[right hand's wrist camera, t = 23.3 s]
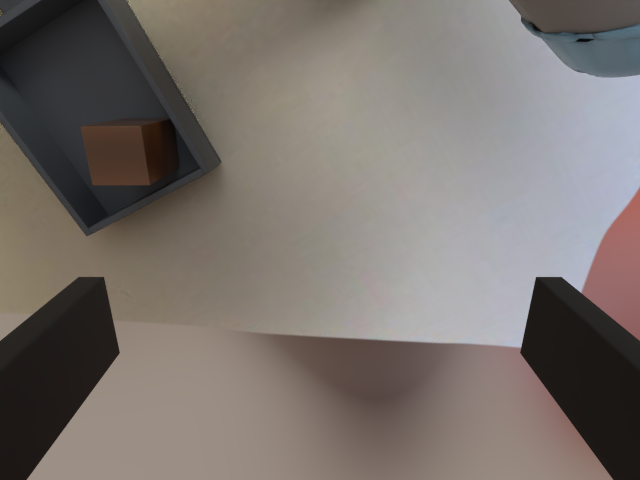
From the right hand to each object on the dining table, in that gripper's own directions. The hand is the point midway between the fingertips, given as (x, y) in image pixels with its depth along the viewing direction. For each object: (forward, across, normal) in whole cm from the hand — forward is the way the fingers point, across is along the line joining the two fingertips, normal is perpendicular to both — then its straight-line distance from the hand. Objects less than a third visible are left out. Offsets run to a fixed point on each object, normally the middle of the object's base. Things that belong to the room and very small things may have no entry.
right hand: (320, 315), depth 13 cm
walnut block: (+28, -16, +1) cm, 32 cm away
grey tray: (+29, -21, +7) cm, 36 cm away
